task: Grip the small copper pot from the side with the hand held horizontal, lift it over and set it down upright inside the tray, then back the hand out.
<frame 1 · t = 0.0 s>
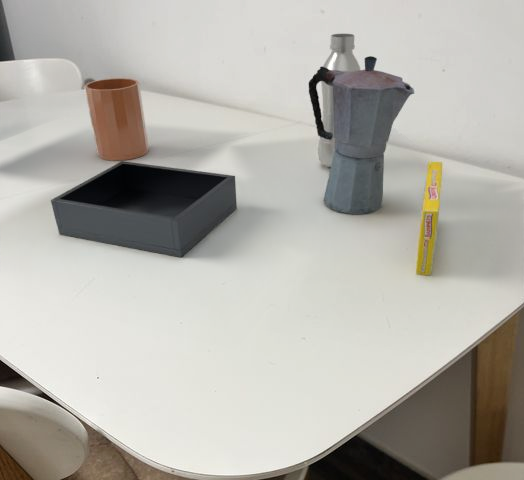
silver bottle: (335, 166, 99), on the table
moka pot: (350, 204, 86), on the table
tray: (151, 221, 82), on the table
candy box: (424, 246, 74), on the table
pot: (123, 152, 108), on the table
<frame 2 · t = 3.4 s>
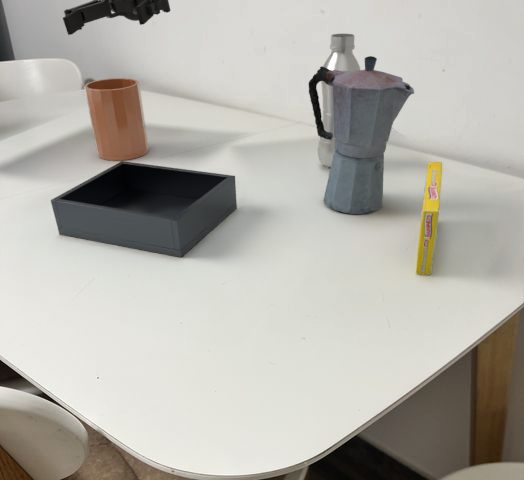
hand: (103, 21, 100), 21 cm above the table, tool horizontal, fingers open, 13 cm apart
nothing on the table moved.
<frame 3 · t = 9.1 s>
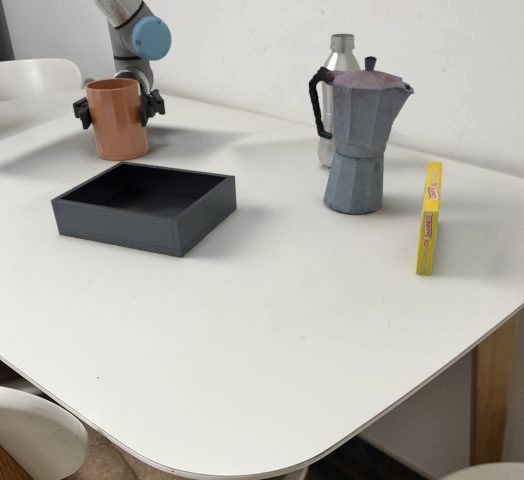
hand: (113, 120, 100), 7 cm above the table, tool horizontal, fingers closed on pot, 9 cm apart
pot: (123, 152, 108), on the table, touching gripper
everything else where it was.
when the fingers open (8 cm above the table, at t = 21.5 s): pot stays where it is, resting on tray.
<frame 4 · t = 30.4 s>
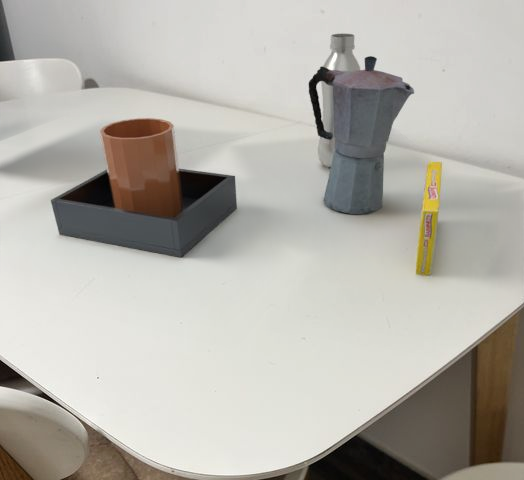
pot: (150, 214, 81), point 1 cm above the table, touching tray
everything else where it was.
at the end: pot inside the target area in the tray (0.0 cm from its centre), point 1.0 cm above the tray's base; pot tilted 0°; the gripper is holding nothing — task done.
